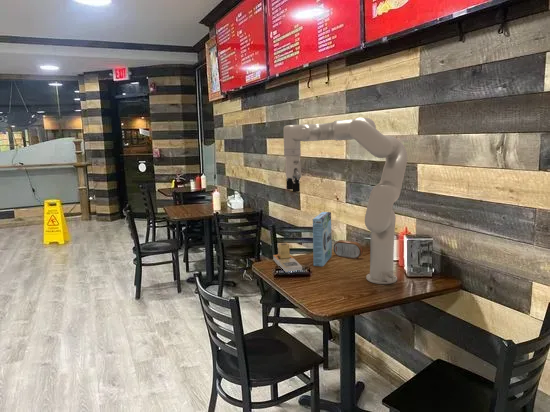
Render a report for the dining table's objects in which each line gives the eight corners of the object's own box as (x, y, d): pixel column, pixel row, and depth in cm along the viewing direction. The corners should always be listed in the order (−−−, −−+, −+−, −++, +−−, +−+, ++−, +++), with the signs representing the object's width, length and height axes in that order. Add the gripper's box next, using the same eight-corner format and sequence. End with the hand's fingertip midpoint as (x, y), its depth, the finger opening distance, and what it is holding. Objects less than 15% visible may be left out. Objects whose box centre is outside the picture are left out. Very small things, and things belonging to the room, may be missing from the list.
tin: (363, 258, 210) (363, 242, 208) (360, 260, 207) (360, 243, 206) (335, 254, 218) (335, 238, 216) (332, 256, 215) (332, 240, 214)
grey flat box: (302, 272, 190) (302, 266, 190) (285, 274, 188) (285, 268, 188) (288, 259, 211) (288, 253, 211) (273, 261, 209) (273, 255, 209)
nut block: (289, 263, 204) (289, 244, 202) (280, 263, 203) (280, 245, 201) (287, 260, 208) (286, 242, 207) (278, 261, 207) (277, 243, 206)
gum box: (323, 267, 197) (322, 219, 194) (312, 266, 199) (311, 218, 195) (332, 256, 215) (331, 212, 212) (322, 255, 217) (321, 211, 213)
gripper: (306, 153, 183) (306, 192, 185) (294, 152, 199) (295, 188, 202) (289, 153, 181) (290, 193, 184) (279, 152, 197) (280, 189, 200)
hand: (293, 190), depth 193 cm, fingers open, 9 cm apart
